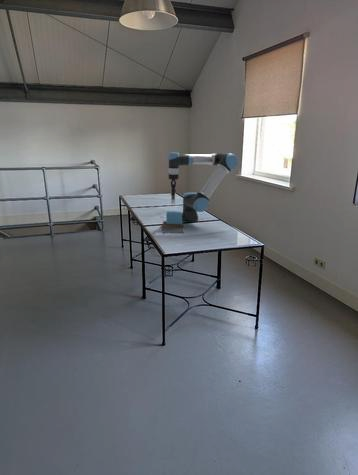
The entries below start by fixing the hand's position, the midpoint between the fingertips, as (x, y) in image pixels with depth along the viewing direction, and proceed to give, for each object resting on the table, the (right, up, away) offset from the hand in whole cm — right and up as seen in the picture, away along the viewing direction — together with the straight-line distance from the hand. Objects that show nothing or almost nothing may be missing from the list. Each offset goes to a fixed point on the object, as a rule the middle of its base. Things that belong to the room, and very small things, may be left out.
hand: (173, 201), depth 254 cm
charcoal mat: (0, -23, -5) cm, 23 cm away
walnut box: (0, -19, +6) cm, 20 cm away
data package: (+1, -19, +6) cm, 20 cm away
